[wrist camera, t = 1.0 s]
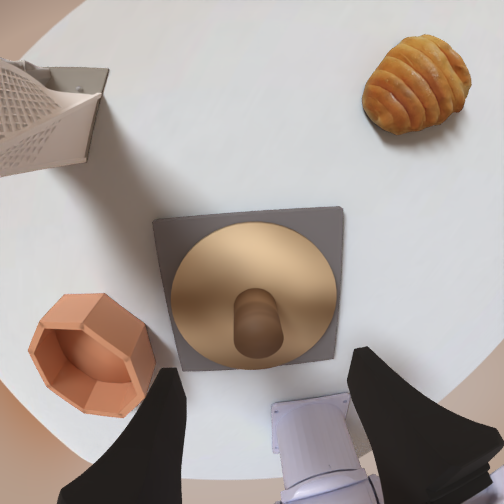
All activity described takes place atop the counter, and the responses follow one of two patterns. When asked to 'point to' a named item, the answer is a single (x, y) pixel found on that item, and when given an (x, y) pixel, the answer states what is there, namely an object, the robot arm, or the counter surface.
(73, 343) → the bowl
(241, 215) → the mat
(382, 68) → the pastry
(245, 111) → the counter surface
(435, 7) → the counter surface
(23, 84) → the skyscraper
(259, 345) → the lid
